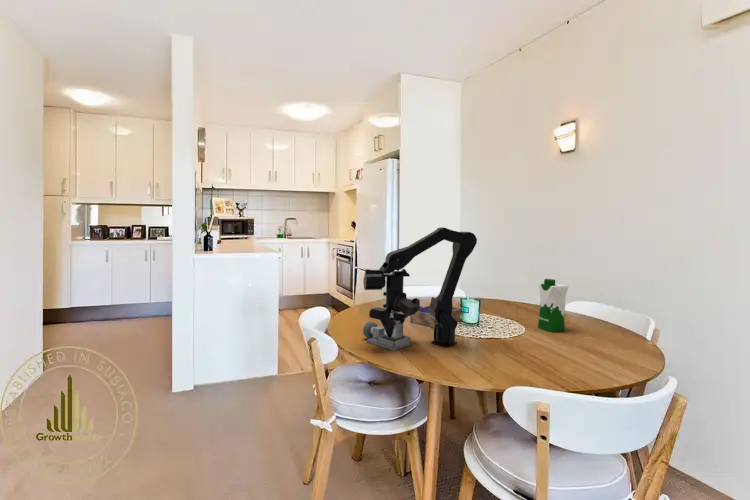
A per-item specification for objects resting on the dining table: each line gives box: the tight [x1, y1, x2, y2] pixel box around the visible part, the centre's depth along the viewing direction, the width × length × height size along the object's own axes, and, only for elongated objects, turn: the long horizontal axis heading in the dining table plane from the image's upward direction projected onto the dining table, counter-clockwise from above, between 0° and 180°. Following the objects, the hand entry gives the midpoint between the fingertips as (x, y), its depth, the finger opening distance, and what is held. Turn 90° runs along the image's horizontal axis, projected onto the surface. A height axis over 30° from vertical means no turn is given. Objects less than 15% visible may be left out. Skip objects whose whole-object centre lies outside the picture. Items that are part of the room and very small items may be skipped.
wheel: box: [362, 321, 379, 339], centre depth 142 cm, size 2×6×6 cm, turn 137°
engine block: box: [384, 319, 404, 341], centre depth 135 cm, size 5×4×7 cm
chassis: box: [366, 325, 411, 351], centre depth 137 cm, size 14×8×5 cm, turn 47°
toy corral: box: [409, 305, 462, 329], centre depth 169 cm, size 13×20×5 cm, turn 137°
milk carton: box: [537, 278, 569, 333], centre depth 159 cm, size 9×9×20 cm
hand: (393, 335), depth 135 cm, fingers closed on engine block, 4 cm apart
